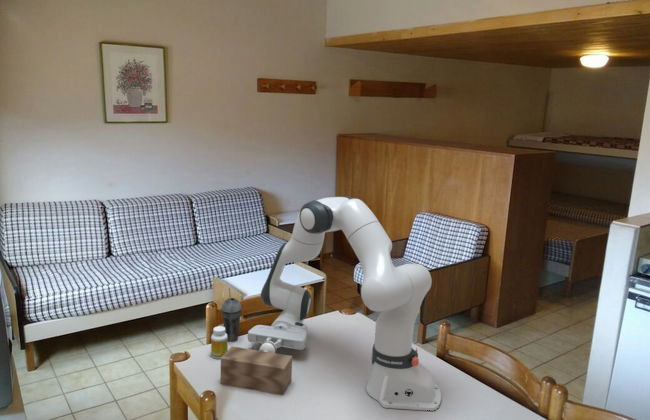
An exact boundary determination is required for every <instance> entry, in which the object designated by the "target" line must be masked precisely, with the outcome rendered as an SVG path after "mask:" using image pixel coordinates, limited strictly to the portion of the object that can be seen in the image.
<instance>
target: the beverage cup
mask: <svg viewBox="0 0 650 420" xmlns="http://www.w3.org/2000/svg"><path fill="white" fill-rule="evenodd" d="M228 296H229V297H228V298H227V299H226V300H224V301H223V303H222V304H221V315H222V322H223V323H222V325H223V327H225V333H226V334H227V336H228V343H235V342H238V340H239V339H238V338H239V332H240V322H241V314H242V311H243V308H242V305H241V302H240V301H239V300H238V298H234V297H232V294H231V287H228Z"/></svg>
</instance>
